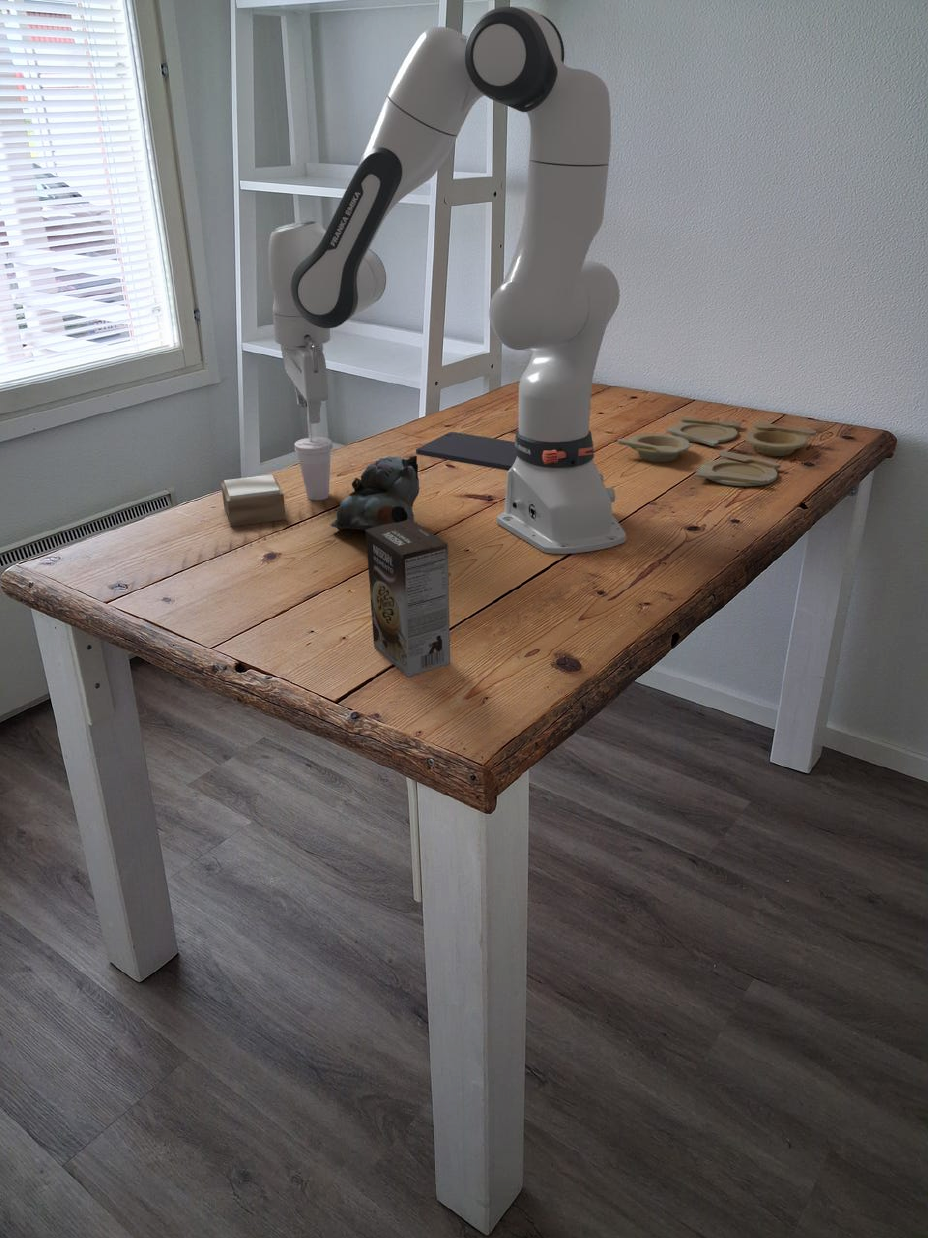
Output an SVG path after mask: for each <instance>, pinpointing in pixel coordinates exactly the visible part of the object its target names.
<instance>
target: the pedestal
mask: <svg viewBox="0 0 928 1238" xmlns="http://www.w3.org/2000/svg"><path fill="white" fill-rule="evenodd" d="M220 486H221V493H222V499H223V500H222V501H223V507H224V512H225V514H226V517H227V519H228V523H229V526H230V527H231V528H232V527H240V526H247V525H254V524H261V523H268V522H276V521H284V520H285V521H286V520H287V515H286V514H287V513H286V504H285V495H284V492H283V490H282V488H281V487H280V484H279V482H278V480H277V478H276V476H273V474H264V475H256V476H250V477H240V478H232V479H224V480H223V482H220Z"/></svg>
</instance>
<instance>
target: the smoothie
mask: <svg viewBox="0 0 928 1238" xmlns="http://www.w3.org/2000/svg"><path fill="white" fill-rule="evenodd" d="M306 420H307V429H308V430H307V431H308V437H305V438H301V439H298V440H297V441H295V442H294V450H295V452H296V453H297V457H298V461H299V466H300V470H301V475H302V480H303V484H304V489H305V492H306V497H307V499H308V500H311V501H322V500H326V499H328V498H329V497H330V480H331V479H330V477H331V455H332V454H331V453H332V452H331V451H332V449H333V447H334V446H333V441H332V439H330V438H327V437H321V436H320V437H318V436H313V433H312V432H313V431H312V424H311V423H310V422H309V420H308V416H306Z"/></svg>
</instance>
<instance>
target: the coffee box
mask: <svg viewBox="0 0 928 1238" xmlns="http://www.w3.org/2000/svg"><path fill="white" fill-rule="evenodd" d="M365 537H366V538H365V539H366V551H367V552H366V554H367V567H368V570H367V571H368V579H369V594H370V595H369V598H370V610H371V620H372V621H371V622H372V637H373V647H374V648H375V649H376V651H378V652H379V653H380V654H381V655H382V656H384V657H385V658H386V659H387V660H388V661H389V662H390V663H391V664H393V665H394V666H395V667H396V668H397V669H398V670H399V671H400V672H402V674H404V675H405V676H406V677H409V678H410V677H412V676H416V675H419V674H422V673H425V672H427V671H428V672H429V671H431V670H434V669H437V668H441V667H444V666H446V665H450V664H451V653H450V652H451V648H450V647H451V646H450V645H451V643H450V641H451V640H450V638H451V637H450V633H451V632H450V631H451V630H450V589H449V588H450V586H449V585H450V581H449V578H450V577H449V576H450V575H449V573H450V571H449V570H450V569H449V543H447V542H446V541H445V540H443V539H441V538H440V537H439V536H436V535H435V534H433V533H432V532H430V531H429V530H428V529H426V528H424V527H423V526H421V525H420V524H418V523H417V522H415V520H414V521H412V520H411V519H410V520H406V521H402V522H399V523H391V524H385V525H382V526H378V527H374V528H370V529H367V530H365Z"/></svg>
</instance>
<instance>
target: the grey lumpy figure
mask: <svg viewBox="0 0 928 1238" xmlns="http://www.w3.org/2000/svg"><path fill="white" fill-rule="evenodd" d="M417 462H418V456H417V455H413V456H410V457H409V458H407V459H406V458H403V457H402V456H387V457H381V458H380V457H379V460H378V459H377V461H376V462H374V463H371V464H370V465H368V466H367V467H366V468H365V469H364V471H363V472H362V473H361V476H360V478H358V477H356V478H353V481H352V482H351V487H352V489H353V491H352V492H351V493H350V494H349V495H348V496H347V497H346V498H343V500H342V501H341V503H340V505H339V507H338V508H337V513H336V519H335V520H333V521H331V523H330V524H329V526H331V527H333V528H336V529H337V530H338V531H341V530H342V529H346V530H349V529H350V530H361V531H362V530H367V529H370V528H374V527H378V526H382V525H385V524H391V523H399V522H402V521H406V520H410V519H411V520H412V521H414V522H415V518H414V513H413V507H414V503H415V501H416V499H417V498H418V495H419V494H420V479H419V476H418V472H419V464H418V463H417Z"/></svg>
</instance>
